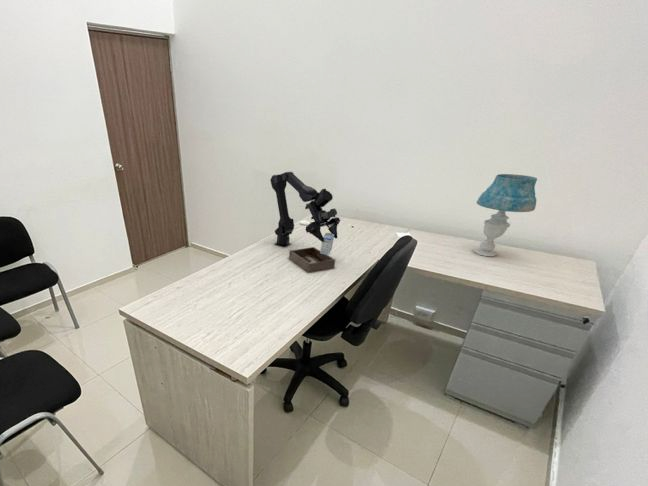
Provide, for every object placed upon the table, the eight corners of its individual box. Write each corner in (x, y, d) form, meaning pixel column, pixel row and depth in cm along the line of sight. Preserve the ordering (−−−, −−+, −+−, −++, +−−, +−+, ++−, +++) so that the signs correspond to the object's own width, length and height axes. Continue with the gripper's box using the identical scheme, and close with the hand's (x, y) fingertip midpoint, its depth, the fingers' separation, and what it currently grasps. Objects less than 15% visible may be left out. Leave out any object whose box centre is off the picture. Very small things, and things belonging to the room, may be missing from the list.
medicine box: (322, 248, 168) (325, 232, 164) (331, 249, 167) (334, 233, 162) (319, 253, 162) (322, 237, 158) (328, 255, 160) (331, 238, 156)
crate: (288, 258, 174) (289, 250, 171) (312, 254, 178) (313, 246, 176) (308, 272, 158) (309, 264, 156) (333, 268, 163) (335, 259, 161)
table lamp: (463, 258, 173) (494, 179, 153) (455, 243, 192) (481, 171, 173) (518, 264, 166) (557, 182, 146) (504, 248, 185) (537, 174, 165)
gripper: (312, 205, 151) (326, 235, 149) (341, 200, 159) (354, 228, 157) (299, 218, 161) (312, 246, 158) (326, 212, 169) (339, 239, 167)
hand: (330, 240), depth 160 cm, fingers closed on medicine box, 9 cm apart
